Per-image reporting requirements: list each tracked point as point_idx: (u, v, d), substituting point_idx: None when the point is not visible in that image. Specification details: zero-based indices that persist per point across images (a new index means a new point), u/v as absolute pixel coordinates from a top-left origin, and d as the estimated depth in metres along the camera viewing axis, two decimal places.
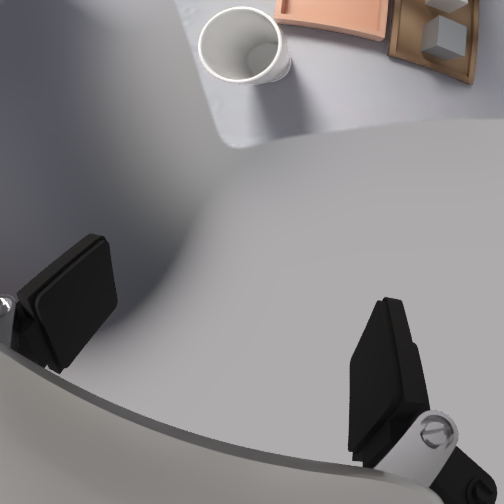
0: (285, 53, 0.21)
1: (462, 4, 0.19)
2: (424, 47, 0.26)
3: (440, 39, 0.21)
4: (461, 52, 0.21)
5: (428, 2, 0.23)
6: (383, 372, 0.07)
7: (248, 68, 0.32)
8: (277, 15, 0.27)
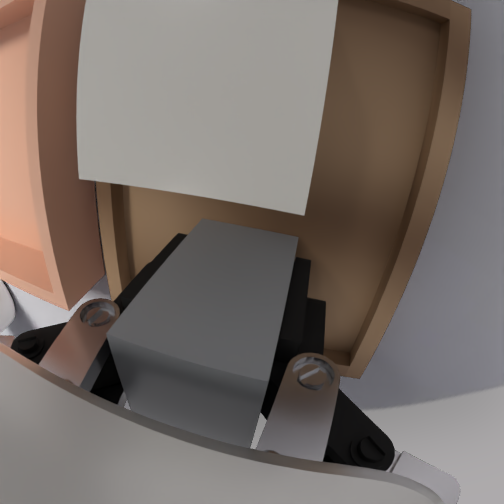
0: None
1: None
2: None
3: (139, 410, 0.07)
4: None
5: None
6: None
7: None
8: None
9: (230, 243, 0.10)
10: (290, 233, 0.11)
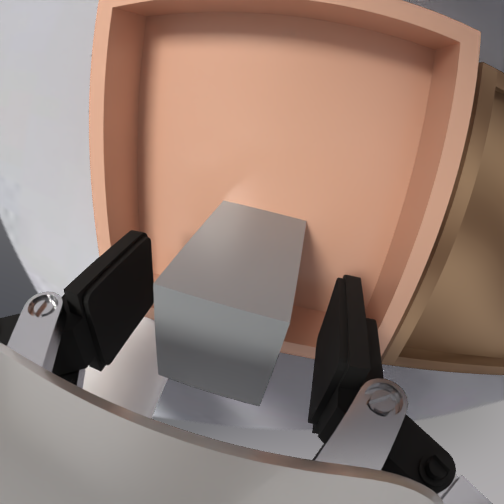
0: None
1: None
2: None
3: (166, 362, 0.09)
4: (248, 396, 0.09)
5: None
6: (334, 341, 0.08)
7: None
8: None
9: (250, 221, 0.11)
10: None
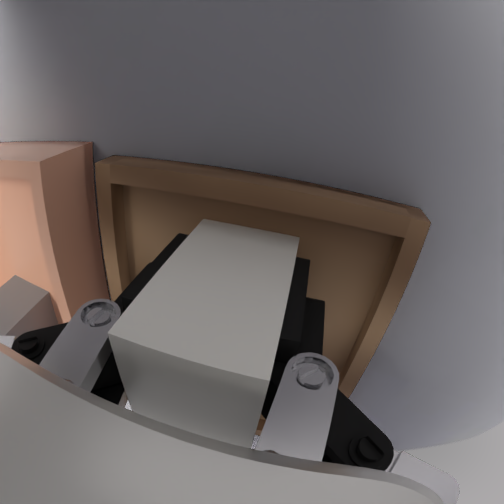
0: None
1: None
2: None
3: None
4: None
5: None
6: None
7: None
8: None
9: (14, 293, 0.14)
10: None
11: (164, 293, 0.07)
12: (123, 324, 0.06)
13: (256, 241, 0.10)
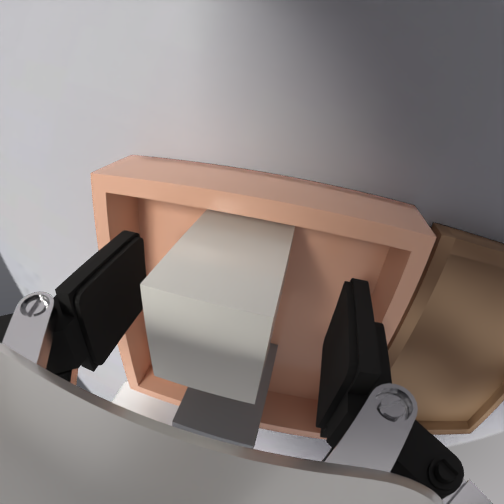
0: None
1: None
2: None
3: None
4: None
5: None
6: (344, 346, 0.07)
7: None
8: (134, 387, 0.17)
9: None
10: (468, 378, 0.15)
11: (185, 256, 0.09)
12: (153, 278, 0.08)
13: (260, 219, 0.12)
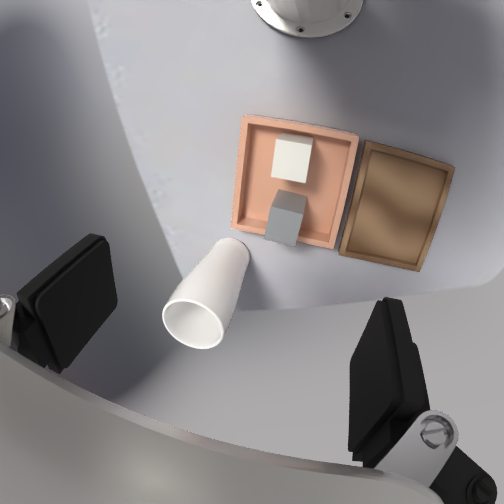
0: (229, 322, 0.32)
1: None
2: None
3: (268, 232, 0.33)
4: (291, 242, 0.33)
5: None
6: (383, 372, 0.07)
7: None
8: (234, 226, 0.37)
9: (289, 195, 0.35)
10: (403, 223, 0.35)
11: (284, 137, 0.29)
12: (278, 138, 0.28)
13: (301, 136, 0.32)
